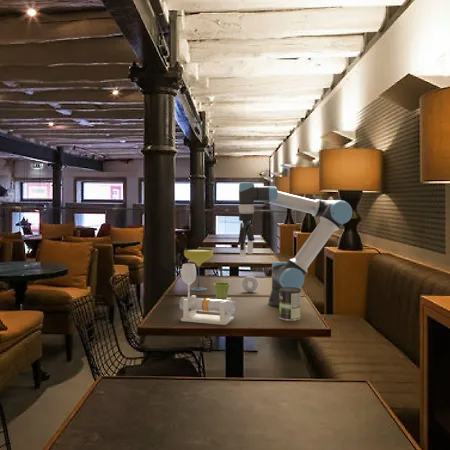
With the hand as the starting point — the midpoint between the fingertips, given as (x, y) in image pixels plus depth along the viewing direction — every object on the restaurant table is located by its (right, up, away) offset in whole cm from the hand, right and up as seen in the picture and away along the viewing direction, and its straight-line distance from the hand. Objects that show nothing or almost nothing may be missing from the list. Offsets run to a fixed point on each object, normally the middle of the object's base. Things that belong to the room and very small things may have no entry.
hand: (246, 255), depth 246 cm
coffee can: (+20, -30, -14) cm, 38 cm away
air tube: (-19, -26, -18) cm, 37 cm away
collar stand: (-19, -29, -17) cm, 39 cm away
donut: (+4, -26, +52) cm, 58 cm away
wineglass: (-31, -28, +23) cm, 47 cm away
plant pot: (-13, -27, +32) cm, 44 cm away
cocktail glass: (-28, -26, +61) cm, 71 cm away
